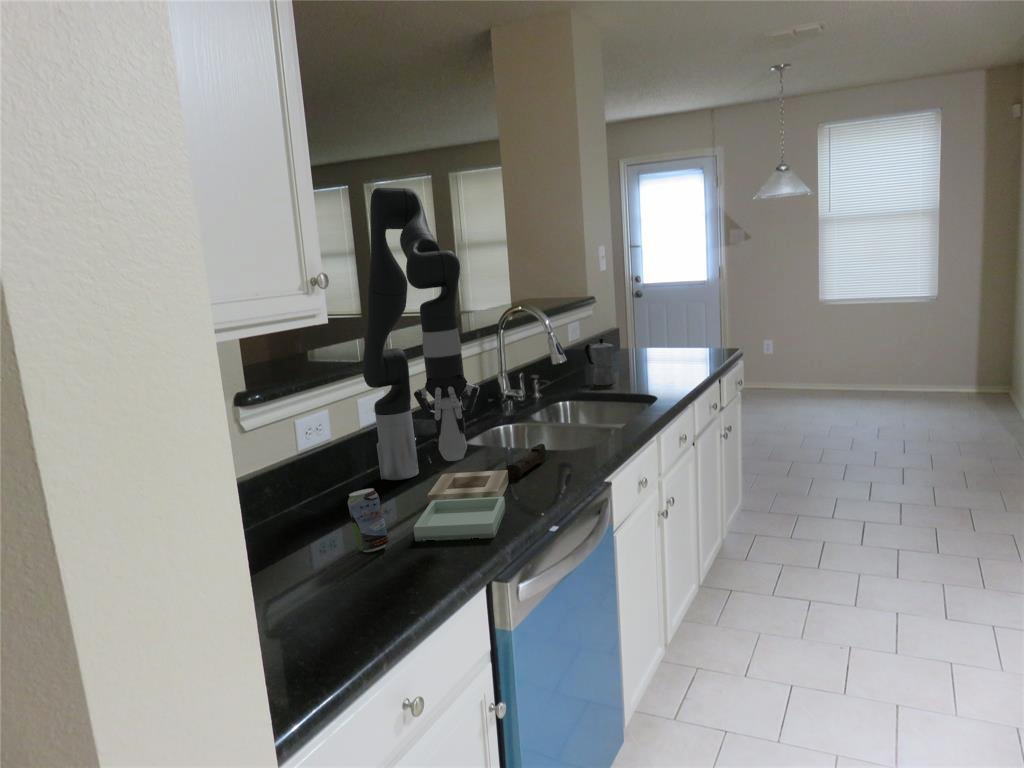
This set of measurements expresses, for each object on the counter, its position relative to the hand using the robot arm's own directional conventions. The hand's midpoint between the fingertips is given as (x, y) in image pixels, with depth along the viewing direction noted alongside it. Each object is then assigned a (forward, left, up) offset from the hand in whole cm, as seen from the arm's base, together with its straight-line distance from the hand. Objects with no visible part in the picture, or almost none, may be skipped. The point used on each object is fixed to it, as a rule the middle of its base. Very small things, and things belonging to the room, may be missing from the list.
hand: (452, 435), depth 156 cm
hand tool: (+10, +39, -20) cm, 45 cm away
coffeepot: (+27, +152, -19) cm, 155 cm away
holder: (-2, +20, -19) cm, 28 cm away
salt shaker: (0, 0, -5) cm, 5 cm away
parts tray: (0, 0, -19) cm, 19 cm away
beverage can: (-16, -11, -19) cm, 27 cm away
